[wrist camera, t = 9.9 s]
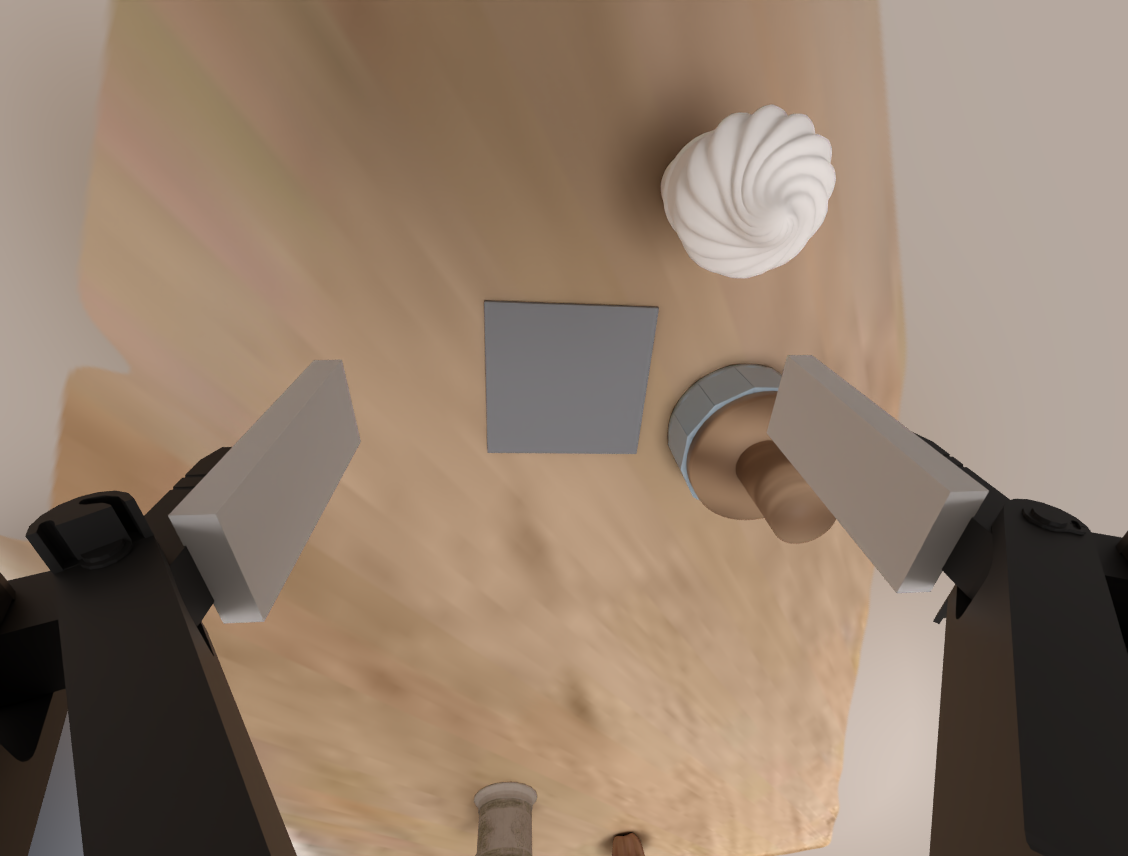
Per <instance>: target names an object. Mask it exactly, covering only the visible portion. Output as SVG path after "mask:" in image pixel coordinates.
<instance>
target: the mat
mask: <svg viewBox="0 0 1128 856" xmlns="http://www.w3.org/2000/svg"><path fill="white" fill-rule="evenodd" d="M658 311H659V308H658V307H647V306H620V305H592V304H565V303H538V302H510V301H484V312H485V356H486V400H487V444H488V453H587V454H636V453H637V447H638V440H639V434H640V427H641V421H642V414H643V408H644V401H645V395H646V388H647V382H648V375H649V369H650V362H651V356H652V350H653V343H654V337H655V330H656V324H657V317H658Z"/></svg>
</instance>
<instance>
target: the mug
mask: <svg viewBox="0 0 1128 856" xmlns="http://www.w3.org/2000/svg"><path fill="white" fill-rule="evenodd" d="M536 799H537V794H536V791H535V790H534V789H533V788H532V787H530V786H528V785H526V784H523V783H517V782H501V783H495V784H492V785H489V786H486V787H484V788H483V789H481V790H479V791H478V793H477V794H476V795H475V799H474V802H475V805H476V806H477V807H478V813H479V826H478V842H477V854H476V855H475V856H532V806H533V804H534V803H535V802H536Z"/></svg>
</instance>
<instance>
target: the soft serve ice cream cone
mask: <svg viewBox="0 0 1128 856" xmlns="http://www.w3.org/2000/svg"><path fill="white" fill-rule="evenodd" d="M831 156H832V147H831V144H830V142H829V140H828V139H827V138H825V137H823V136H821V135H819V134H815V129H814V125H813V123H812V120H811V119H810V118H809V117H808V116H807V115H805V114H791V115H789V116H788V115H787V114H786V112H785V110H783V109H781V108H780V107H778V106H775V105H773V104H771V105H766V106H763V107H761V108H759V109H757V110H756V111H755V112H754V113H753V114H752V115H751V114H749V113H743V112H740V113H732V114H731V115H729V116H728V117H726V118H724V119H723V120H722V121H721V122H720V123H719V125H718V126H717V128H716V129H715V130H713V131H709V132H706V133H703V134H701V135H700V136H698V137H696V138H694V139H693V140H692V141H690V142H689V143H688V144H686V145H685V146H684V147H683V149H682V150H681V151H680V152H679V153H678V154H677V156H676V157H675V159H673V160H672V162H671V163H670V164H669V165H668V167H667V168H666V170H665V172H664V174H663V177H662V181H661V196H662V199H663V202H664V210H665V213H666V216H667V219H668V221H669V223H670V224H671V226H672V228H673V229H674V230H675V231H676V232H677V234H678V237H679V239H680V240H681V241H682V244H683V247H684V249H685V250H686V252H687V253H688V255H689V257H690V258H691V259H692V260H693V261H694V262H695V263H696V264H698V265H699V266H700V267H702V268H704V269H706V270H708V271H711V272H713V273H718V274H720V275H724V276H727V277H731V278H750V277H753V276H757V275H760V274H763V273H764V272H766V271H768V270H771V269H774V268H776V267H779V266H781V265H784V264H785V263H787V262H788V261H790V260H791V259H792V258H794V257H795V256H796V255H797V254H798V253H799V252H800V251H801V250H802V248H803V247H804V246H805V245H806V243H807V241H808V239H810V238H811V237H812V236H813V235H814V234H815V232H816V231H817V230H818V229H819V227H820V226H821V225H822V223H823V221H824V219H825V216H826V214H827V210H828V199H829V198H830V196H831V194H832V192H833V189H834V186H835V182H836V176H835V170H834V167H833V166H832V165H831V164H830V162H831Z"/></svg>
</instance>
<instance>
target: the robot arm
mask: <svg viewBox="0 0 1128 856" xmlns="http://www.w3.org/2000/svg"><path fill="white" fill-rule="evenodd" d="M767 434H768V435H769V437H770V438H771V439H772V440H773V442H774V443H775V444H776V445H777V446H778V448H779V449H780V450H781V451H782V453H783V454H784V455H785V456H786V458H787V459H788V460H789V461H790V462H791V464H792V465H793V466H794V467H795V469H796V470H797V471H798V472H799V474H800V475H801V476H802V477H803V478H804V480H805V481H806V482H807V483H808V485H809V486H810V487H811V488H812V490H813V491H814V492H815V493H816V494H817V496H818V497H819V498H820V499H821V501H822V502H823V503H824V504H825V506H826V507H827V508H828V509H829V510H830V512H831V513H832V514H833V515H834V517H835V518H836V519H837V520H838V522H839V523H840V524H841V525H842V526H843V528H844V529H845V530H846V531H847V533H848V534H849V535H850V536H851V538H852V539H853V540H854V541H855V542H856V544H857V545H858V546H859V547H860V549H861V550H862V551H863V552H864V554H865V555H866V556H867V557H868V559H869V560H870V561H871V562H872V563H873V565H874V566H875V567H876V568H877V570H878V571H879V572H880V573H881V574H882V576H883V577H884V578H885V579H886V581H887V582H888V583H889V584H890V586H891V587H892V588H893V589H894V590H895V592H896V593H914V592H931V590H932V588H933V586H934V585H935V583H936V581H937V580H938V578H939V576H940V574H941V573H942V571H944V573H946V575H947V576H948V577H949V578H950V579H951V580H952V581H953V582H954V583H955V586H954V588H953V589H952V591H951V593H950V594H949V596H948V597H947V599H946V600H945V602H944V604H943V605H942V607H941V609H940V610H939V612H938V613H937V615H936V617H935V619H934V621H933V622H936V623H938V624H940V622H941V621H942V619H943V618H946V631H945V645H944V659H943V674H942V687H941V701H940V715H939V716H940V717H939V729H938V743H937V759H936V772H935V785H934V786H935V787H934V799H933V815H932V827H931V828H932V829H931V841H930V855H929V856H1128V531H1127V533H1126V534H1125V535H1124V537H1123V538H1121V537H1115V536H1110V535H1104V534H1098V533H1092V532H1091V531H1090V530H1089V529H1088V527H1087V526H1086V525H1085V524H1083V523H1082V522H1081V521H1080V520H1078V519H1077V518H1076V517H1074V516H1072V515H1070V514H1068V513H1066V512H1065V511H1062V510H1061V509H1058V508H1056V507H1053V506H1050V505H1047V504H1045V503H1042V502H1037V501H1033V500H1028V499H1013V500H1010V499H1008V498H1007V497H1006V496H1004V495H1003V494H1002V493H1000V492H999V491H998V490H996V489H995V488H994V487H992V486H991V485H990V484H988V483H987V482H986V481H984V480H983V479H982V478H980V477H979V476H978V475H976V474H975V473H974V472H972V471H971V470H970V469H968V468H967V467H963V464H962V463H961V462H959V461H958V460H957V459H955V458H954V457H950V456H949V455H950V454H948V453H947V452H946V451H945V450H943V449H942V448H941V447H939V446H938V445H936V444H935V443H934V442H932V441H930V440H928V439H926V438H924V437H922V436H920V435H918V434H916V433H914V432H912V431H910V430H909V429H908V428H906V427H905V426H904V425H903V424H901V423H900V422H899V421H897V420H896V419H895V418H893V417H892V416H891V415H889V414H888V413H887V412H886V411H884V410H883V409H882V408H880V407H879V406H878V405H876V404H875V403H874V402H873V401H871V400H870V399H869V398H867V397H866V396H865V395H863V394H862V393H861V392H859V391H858V390H857V389H856V388H854V387H853V386H852V385H850V384H849V383H848V382H846V381H845V380H844V379H842V378H841V377H840V376H839V375H837V374H836V373H835V372H833V371H832V370H831V369H829V368H828V367H827V366H825V365H824V364H823V363H822V362H820V361H819V360H818V359H816V358H815V357H814V356H812V355H787V359H786V363H785V366H784V370H783V374H782V378H781V381H780V385H779V389H778V393H777V396H776V400H775V404H774V407H773V411H772V415H771V419H770V422H769V426H768V430H767ZM360 442H361V440H360V436H359V432H358V427H357V423H356V419H355V414H354V410H353V406H352V401H351V397H350V393H349V388H348V384H347V380H346V375H345V371H344V367H343V362H342V360H314V361H313V362H312V363H311V364H310V365H309V366H308V367H307V368H306V369H305V370H304V371H303V372H302V374H301V375H300V376H299V377H298V378H297V379H296V380H295V381H294V382H293V383H292V384H291V385H290V386H289V387H288V388H287V390H286V391H285V392H284V393H283V394H282V395H281V396H280V397H279V398H278V399H277V400H276V401H275V402H274V403H273V404H272V405H271V407H270V408H269V409H268V410H267V411H266V412H265V413H264V414H263V415H262V416H261V417H260V418H259V419H258V420H257V421H256V423H255V424H254V425H253V426H252V427H251V428H250V429H249V430H248V431H247V432H246V433H245V434H244V435H243V436H242V437H241V438H240V440H239V441H238V442H237V443H236V444H235V445H234V446H233V447H222V448H220V449H218V450H217V451H215V452H213V453H211V454H210V455H208V456H206V457H205V458H203V459H201V460H200V461H199V462H198V463H197V464H196V465H195V466H194V467H193V468H192V469H191V470H190V471H189V472H188V473H187V474H186V475H185V478H182V479H181V480H180V481H179V482H178V483H177V484H176V485H175V486H174V487H173V490H170V491H169V492H168V493H167V494H166V495H165V496H164V497H163V498H162V499H161V500H160V501H159V502H158V503H157V504H156V505H155V506H154V507H153V508H152V509H151V510H150V511H149V512H148V513H147V514H146V515H145V516H143V514H142V512H141V510H140V508H139V507H138V505H137V503H136V501H135V499H134V498H133V497H132V496H131V495H130V494H129V493H126V492H120V491H106V492H97V493H93V494H89V495H85V496H81V497H78V498H75V499H73V500H70V501H68V502H65V503H63V504H60V505H58V506H56V507H55V508H53V509H51V510H50V511H48V512H46V513H45V514H43V515H41V516H40V517H39V518H38V519H37V520H36V521H35V522H34V523H32V524H31V525H30V526H29V529H28V531H27V533H26V538H27V539H28V540H29V542H30V543H31V545H32V546H33V547H34V549H35V550H36V551H37V553H38V554H39V556H40V557H41V558H42V560H43V561H44V562H45V564H46V565H47V566H48V568H49V569H50V571H48V572H43V573H39V574H35V575H31V576H26V577H22V578H18V579H13V580H9V581H7V580H6V579H5V578H4V576H3V575H2V574H1V573H0V856H28V853H29V849H30V845H31V842H32V838H33V835H34V831H35V827H36V824H37V820H38V816H39V813H40V809H41V805H42V802H43V798H44V795H45V791H46V787H47V784H48V780H49V776H50V772H51V769H52V765H53V762H54V758H55V754H56V751H57V747H58V744H59V740H60V736H61V733H62V729H63V725H64V722H65V718H66V714H67V711H68V714H69V723H70V732H71V742H72V751H73V759H74V769H75V779H76V787H77V797H78V806H79V816H80V825H81V834H82V843H83V852H84V856H297V855H296V852H295V850H294V847H293V845H292V842H291V840H290V837H289V835H288V832H287V830H286V827H285V825H284V822H283V820H282V817H281V815H280V812H279V810H278V807H277V805H276V802H275V800H274V797H273V795H272V792H271V790H270V787H269V785H268V782H267V780H266V777H265V775H264V772H263V770H262V767H261V765H260V762H259V760H258V757H257V755H256V752H255V750H254V747H253V745H252V742H251V740H250V737H249V735H248V732H247V730H246V727H245V725H244V722H243V720H242V717H241V715H240V712H239V710H238V707H237V705H236V702H235V700H234V697H233V695H232V692H231V690H230V687H229V685H228V682H227V680H226V677H225V675H224V672H223V670H222V667H221V665H220V662H219V660H218V657H217V655H216V652H215V650H214V647H213V645H212V642H211V640H210V637H209V635H208V632H207V630H206V628H205V627H204V625H203V623H202V619H203V618H204V616H205V615H206V613H207V612H208V610H209V609H210V607H211V606H212V604H214V606H215V608H216V610H217V612H218V613H219V615H220V617H221V619H222V621H223V623H244V622H264V621H265V619H266V617H267V615H268V613H269V612H270V610H271V608H272V606H273V604H274V602H275V600H276V599H277V597H278V595H279V593H280V591H281V589H282V587H283V586H284V584H285V582H286V580H287V578H288V576H289V574H290V573H291V571H292V569H293V567H294V565H295V563H296V561H297V559H298V558H299V556H300V554H301V552H302V550H303V548H304V546H305V545H306V543H307V541H308V539H309V537H310V535H311V533H312V532H313V530H314V528H315V526H316V524H317V522H318V520H319V518H320V517H321V515H322V513H323V511H324V509H325V507H326V505H327V504H328V502H329V500H330V498H331V496H332V494H333V492H334V491H335V489H336V487H337V485H338V483H339V481H340V479H341V478H342V476H343V474H344V472H345V470H346V468H347V466H348V464H349V463H350V461H351V459H352V457H353V455H354V453H355V451H356V450H357V448H358V446H359V444H360Z"/></svg>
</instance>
